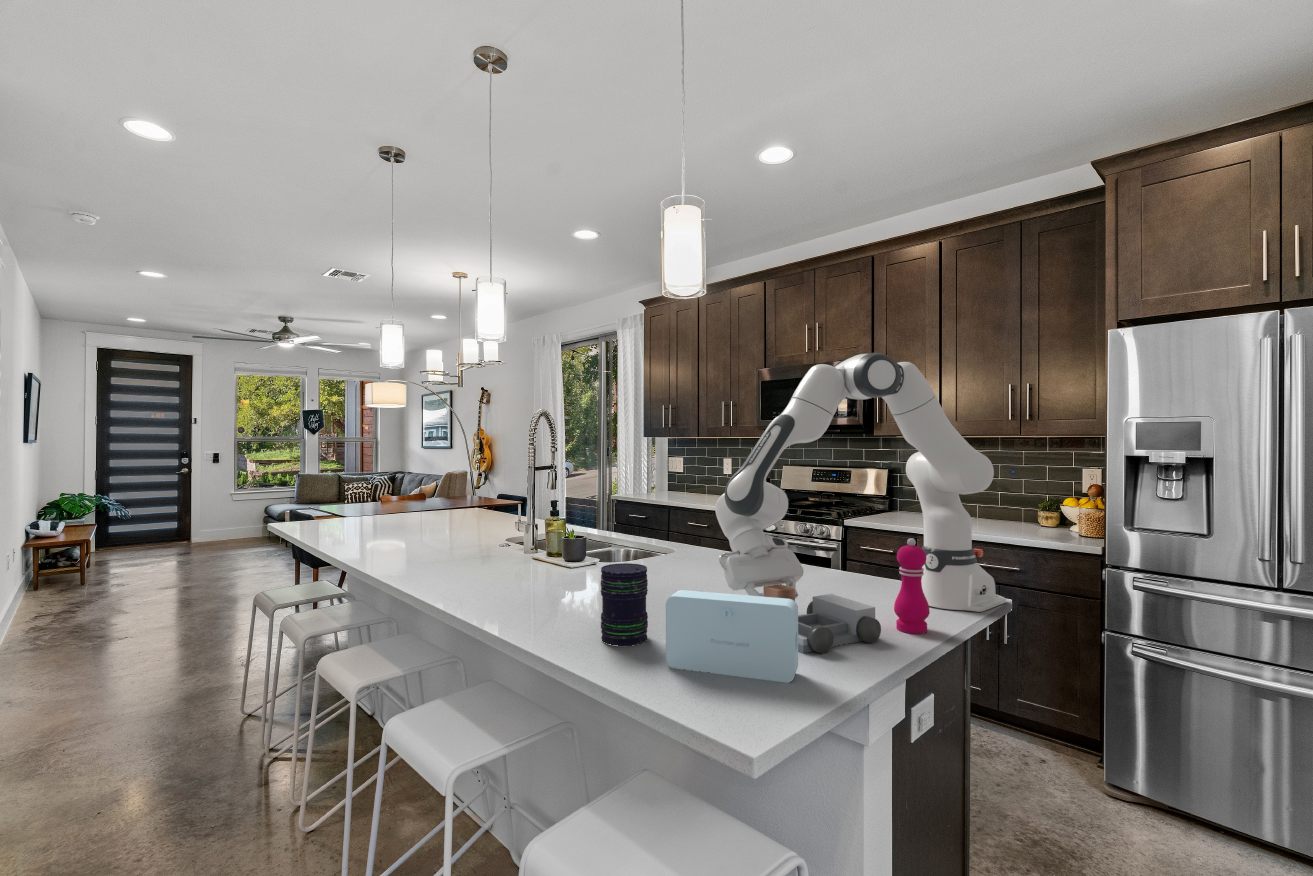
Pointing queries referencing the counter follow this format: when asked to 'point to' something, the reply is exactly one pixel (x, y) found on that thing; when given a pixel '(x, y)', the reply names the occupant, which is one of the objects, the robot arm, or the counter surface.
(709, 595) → the light blue box
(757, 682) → the counter surface
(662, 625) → the counter surface
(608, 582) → the storage jar
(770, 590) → the brown rectangular block
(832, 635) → the chassis
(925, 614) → the pepper mill
